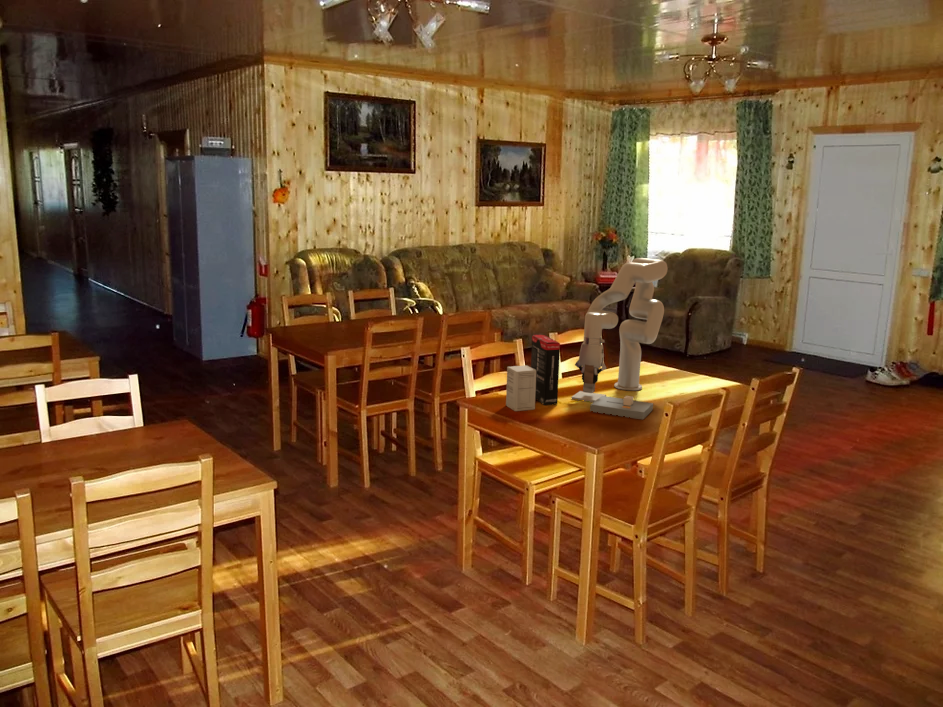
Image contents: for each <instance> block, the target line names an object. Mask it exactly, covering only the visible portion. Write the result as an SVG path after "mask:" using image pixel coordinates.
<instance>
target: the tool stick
mask: <svg viewBox="0 0 943 707" xmlns="http://www.w3.org/2000/svg"><path fill="white" fill-rule="evenodd" d="M594 373H595V372H594V365H586V364H585V369H584V382H583V386H582V387H583V388H582V389H583V390H582V391H583V392H586V393H595V390H596V383H595V384H593V376H594Z"/></svg>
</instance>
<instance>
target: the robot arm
mask: <svg viewBox="0 0 943 707" xmlns="http://www.w3.org/2000/svg"><path fill="white" fill-rule="evenodd" d="M667 273H668V264H667V262H666V261H665V260H662V259H658V258H657V259H656V258H648V257H636V258H634V259H632V262H630V261H629V262H626V263H623V264H622V266H621V267H620V269H619V271H618V273H617V275H616V277H615V279H614V280H613V282H612V284H611V285H610V288H608V289H607V290H605V291H603V292H602V293H600V294H599V295H598V296H596V297H595V299H593V301H591V304H590V306H589V308H588V310H587V312H586V313H585V316H584V329H583V330H584V331H583V342H582V343H581V346H580V350H579V356H578V359H577V361H576V362H575V364H574V366H576V367H577V369H578V370H579V371H580V372H581V380H582V383H584V369H585V364H586V365H594V372H595V373H594V376H593V384H595V385H596V383H597V382H598V381H599V380H598V379H599V374H601V372H603V371H604V370H607V366H606V364H605V362H604V360H605V359H604V357H605V354H604V350H605V349H604V344H603V343H605V339H603V337H602V335H603V330H604V329H606V330H607V329H608V330H611V329H614V328H615V327H617V325H618V323H619V316H618V315H617V313H615V312H613V311H610V310H609V311H608V310H604V309H605V307H607V306H609V305H610V304H614V303H617V302H620V301H624V300H626V299H628V297H629V295H630V292H631V291H632V289H633V287H634V285H635V287H634V288H635V289H634V291H633V295H632V298H631V302H630V305H629V310H628V312H629V315H630V316H631V317H632V318H636V319H641V320H646V321H641V320H636V319H625V320H623V321H622V322H621V323H620V326H619V329H618V330H619V332H618V333H619V340H620V341H619V343H620V347H619V348H620V351H619V361H618V362H619V363H618V364H619V365H618V377H617V382H615V383H614V388H616V389H618V390H622V391H633V392H634V391H641V390H642V388H643V386H642V384H640V374H641V373H640V371H641V361H642V348H641V344H646V345H650V344H653V343H654V342H655V341H656V340H657V337H658V334H659V331H660V328H661V325H662V322H663V317H664V314H665V307H664V304H663V302H662V301H660V300H658V299H654V298H653V297H654V292H655V287H654V283H653V282H656V281H659V280H661V279H663V278H664V277H665V276H666V275H667ZM640 343H641V344H640Z"/></svg>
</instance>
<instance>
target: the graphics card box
mask: <svg viewBox="0 0 943 707" xmlns="http://www.w3.org/2000/svg"><path fill="white" fill-rule="evenodd" d="M560 349H561V342H559V341H557V340H554V339H552V338H551V337H549V336H547V335H545V334H532V336H531V357H530V367H531V368H533V369H535V370H536V392H535V400H537V401H538V403H540V402H541V403H540V404H542V405H543V406H551V405H552V404H553V405H558V396H559V378H560V377H559V374H560V354H561V350H560Z"/></svg>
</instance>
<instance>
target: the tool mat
mask: <svg viewBox="0 0 943 707" xmlns="http://www.w3.org/2000/svg"><path fill="white" fill-rule="evenodd" d="M601 396H607V394H602V393H595V392H593V393H586V392H583V390H579V391H578V392H576V393H575V394H573V395H572V396H571V397H570V399H571V398H572V399H571V400H573V399H578V400H577V401H579V400H584V401H583V402H586V401H590V402H589V403H593V402H594V401H596V400H597V399H598V398H600V397H601Z"/></svg>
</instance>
